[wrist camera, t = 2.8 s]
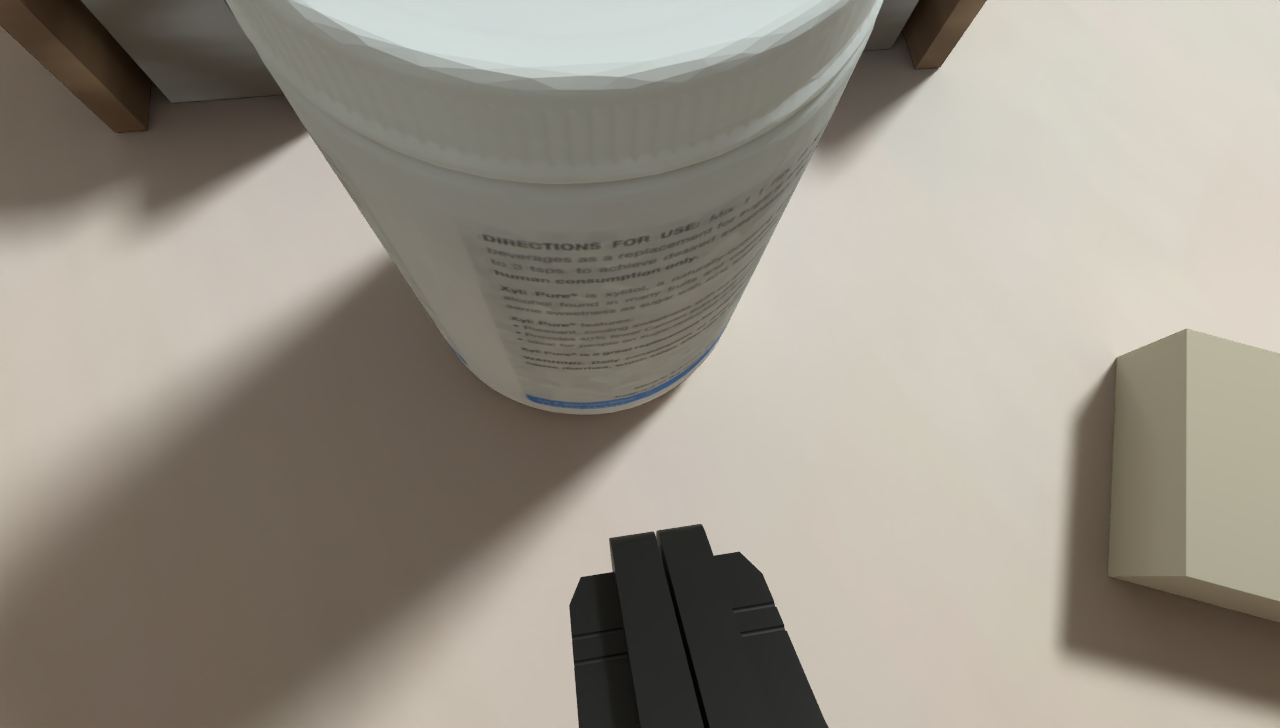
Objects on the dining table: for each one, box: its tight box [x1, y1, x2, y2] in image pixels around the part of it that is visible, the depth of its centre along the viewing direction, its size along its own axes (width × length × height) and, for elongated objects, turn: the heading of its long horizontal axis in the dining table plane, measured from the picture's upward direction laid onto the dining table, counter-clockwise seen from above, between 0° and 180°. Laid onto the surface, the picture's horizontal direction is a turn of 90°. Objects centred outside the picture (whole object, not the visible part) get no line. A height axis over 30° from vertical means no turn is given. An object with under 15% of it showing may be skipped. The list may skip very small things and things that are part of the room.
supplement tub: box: [226, 0, 883, 415], centre depth 15 cm, size 10×10×15 cm
